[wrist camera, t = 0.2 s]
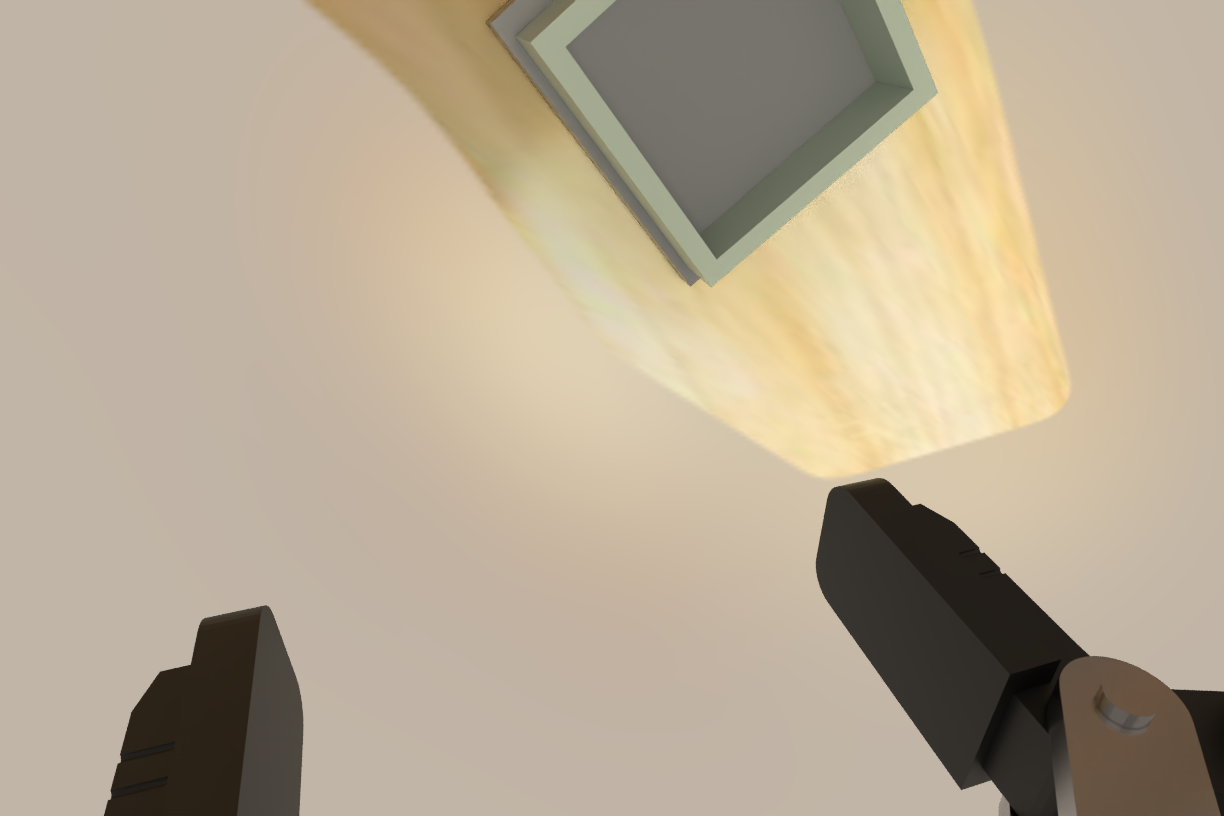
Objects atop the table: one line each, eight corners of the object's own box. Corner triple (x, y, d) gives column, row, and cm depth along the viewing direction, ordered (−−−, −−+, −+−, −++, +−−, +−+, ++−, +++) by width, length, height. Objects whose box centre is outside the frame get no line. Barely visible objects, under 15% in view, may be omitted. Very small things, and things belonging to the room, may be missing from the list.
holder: (485, 22, 33) (504, 28, 29) (757, -233, 31) (810, -257, 28) (681, 278, 42) (713, 307, 38) (899, 90, 40) (953, 102, 37)
